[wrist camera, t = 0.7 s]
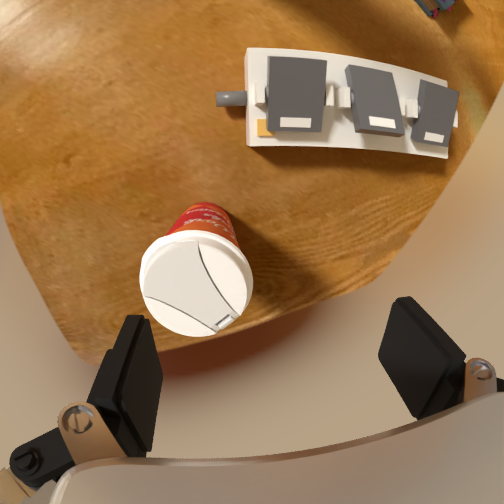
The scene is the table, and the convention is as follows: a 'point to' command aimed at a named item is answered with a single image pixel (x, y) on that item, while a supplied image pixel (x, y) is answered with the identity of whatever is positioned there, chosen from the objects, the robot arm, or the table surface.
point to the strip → (330, 105)
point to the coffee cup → (197, 274)
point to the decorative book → (434, 6)
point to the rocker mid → (374, 101)
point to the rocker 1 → (295, 94)
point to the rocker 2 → (434, 114)
